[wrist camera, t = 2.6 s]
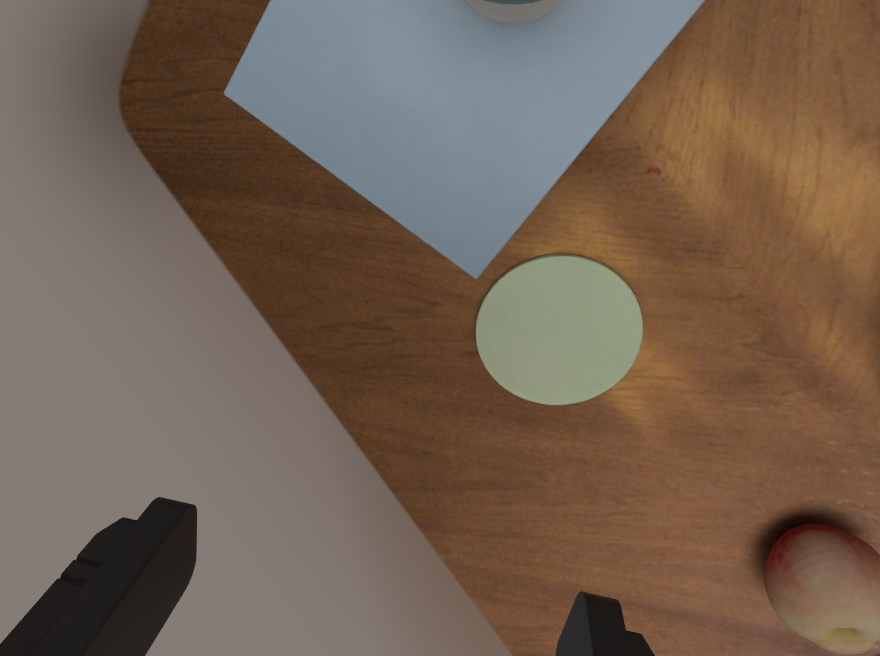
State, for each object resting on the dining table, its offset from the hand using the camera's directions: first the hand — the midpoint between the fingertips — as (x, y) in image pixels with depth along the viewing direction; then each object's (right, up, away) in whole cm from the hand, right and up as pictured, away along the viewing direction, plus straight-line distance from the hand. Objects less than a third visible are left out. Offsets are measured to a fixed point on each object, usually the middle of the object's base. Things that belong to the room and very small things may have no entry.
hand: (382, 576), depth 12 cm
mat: (+9, +5, +28) cm, 29 cm away
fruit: (+29, -11, +33) cm, 45 cm away
